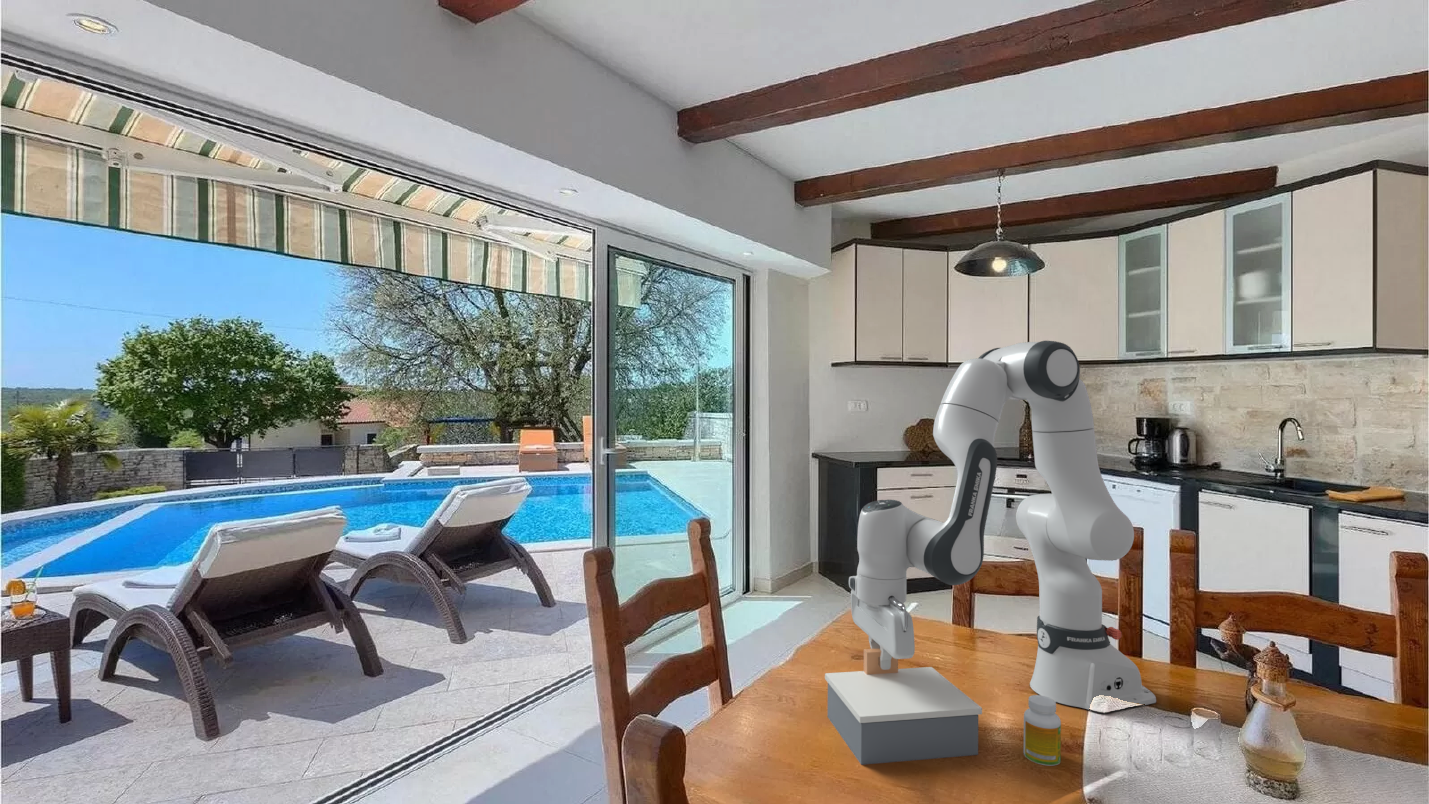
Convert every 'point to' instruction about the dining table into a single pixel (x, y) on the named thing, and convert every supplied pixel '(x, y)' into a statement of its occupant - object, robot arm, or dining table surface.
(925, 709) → the lid
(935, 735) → the tub
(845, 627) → the dining table surface
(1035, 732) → the supplement bottle
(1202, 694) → the dining table surface
